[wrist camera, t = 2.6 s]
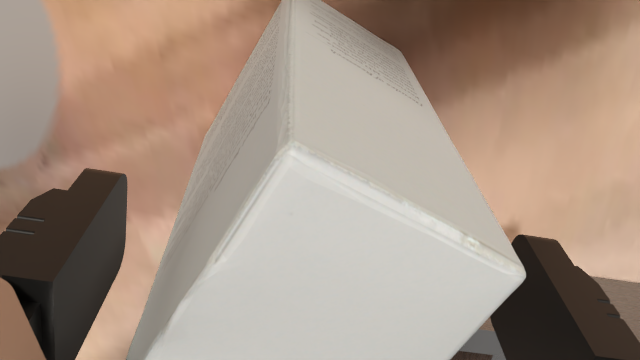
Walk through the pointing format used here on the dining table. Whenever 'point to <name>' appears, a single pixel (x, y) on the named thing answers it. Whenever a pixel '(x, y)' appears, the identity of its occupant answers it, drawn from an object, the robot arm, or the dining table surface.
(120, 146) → the dining table surface
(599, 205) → the dining table surface
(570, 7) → the dining table surface
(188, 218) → the skincare box
